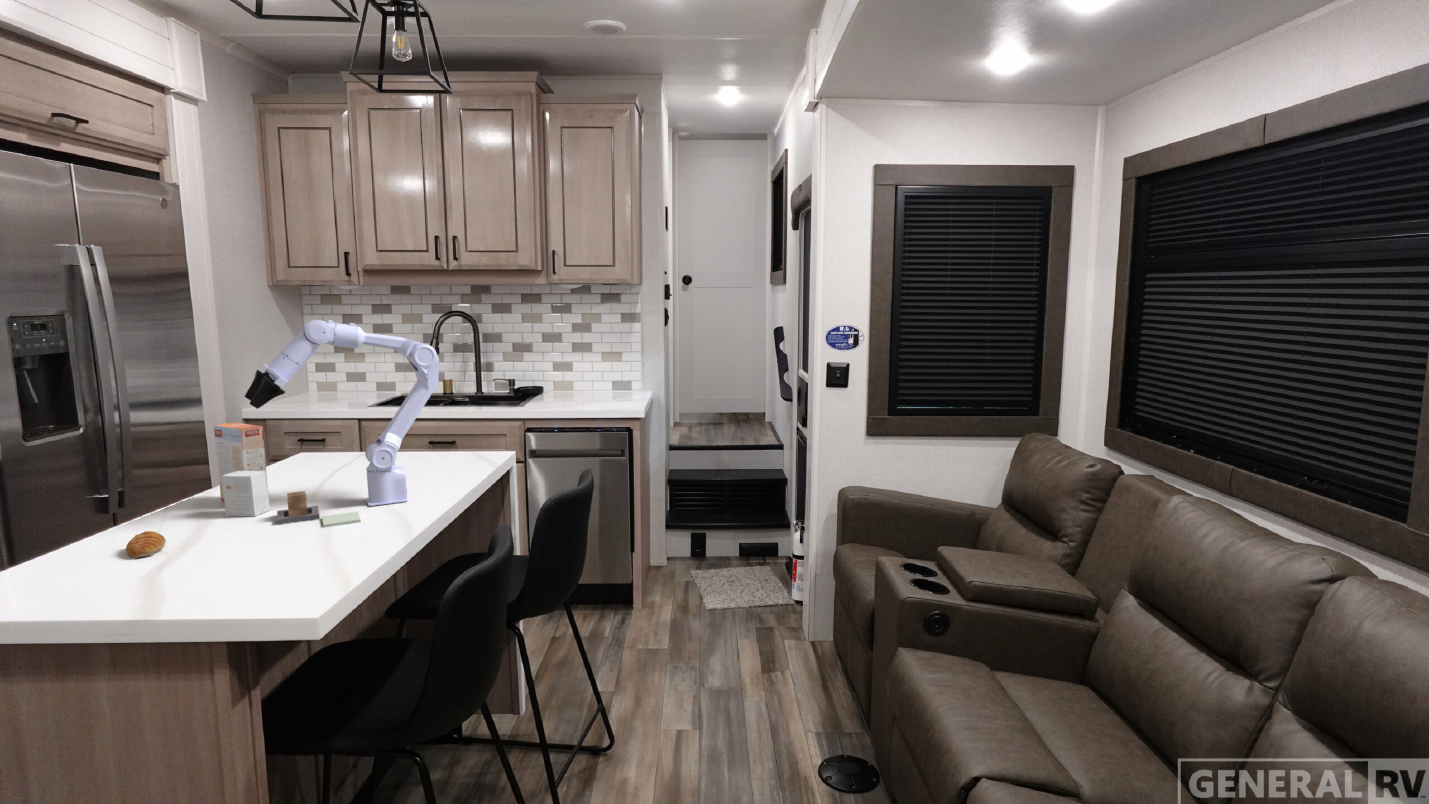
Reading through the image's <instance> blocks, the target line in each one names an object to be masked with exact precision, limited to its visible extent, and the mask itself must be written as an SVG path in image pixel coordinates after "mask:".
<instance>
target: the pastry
mask: <svg viewBox="0 0 1429 804" xmlns="http://www.w3.org/2000/svg"><path fill="white" fill-rule="evenodd" d="M166 541H167V539H165V536H164V535H162V534H161V533H158V532H157V531H153V530H149V531H147V530H146V531H143V532H141V533H140V534H139V533H138V534H135V536H134V537H131V539H130V540H129V541H128V543H127V544H126V547H125V551H126V553H127V555H128V556H129V557H130V558H131V559H137V558H139V557H140V558H141V557H148V556H150V557H152V556H154V555H155V554H158V553H159V552H161V551H162V550H163V549H164V547H165V544H166Z"/></svg>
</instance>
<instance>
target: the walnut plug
mask: <svg viewBox="0 0 1429 804" xmlns="http://www.w3.org/2000/svg"><path fill="white" fill-rule="evenodd" d="M286 501H287V507H288V511H289V515H288V517H291V516H298V515H306V514H309V513H307V507H308V504H307V494H306V490H303V491H295V492H287V493H286Z"/></svg>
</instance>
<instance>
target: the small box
mask: <svg viewBox="0 0 1429 804" xmlns="http://www.w3.org/2000/svg"><path fill="white" fill-rule="evenodd" d="M266 474H267V471H266V472H265V471H235V472H232V473H229V474H226V475H223V476H221V477H222V486H223V494H224V501H223V503H224V510H225V516H226V517H251V516H255V517H258V516H259V515H261V513H262V514H265V513H268V512H269V511H270V509H271V508H270V499H269V498H268V497H269V489H267V486H268V479H267V480H266Z"/></svg>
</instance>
